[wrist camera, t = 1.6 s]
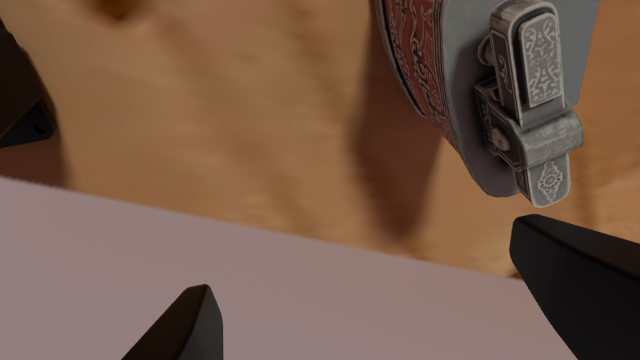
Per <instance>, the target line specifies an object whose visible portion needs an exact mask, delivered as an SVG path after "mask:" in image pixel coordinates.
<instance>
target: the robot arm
mask: <svg viewBox="0 0 640 360" xmlns="http://www.w3.org/2000/svg"><path fill="white" fill-rule="evenodd" d="M42 94H43V91H42V89H41V87H40V85H39V84H38V82H37V80H36V78H35V76H34V74H33V72H32V70H31V69H30V67H29V65H28V63H27V61H26V59H25V57H24V55H23V54H22V52H21V50H20V48H19V46H18V44H17V42H16V40H15V39H14V37H13V35H12V34H11V33H9V32H8V31H6V30H5V28H4V27H3V25H2V23H1V21H0V148H4V147H9V146H14V145H20V144H25V143H30V142H35V141H40V140H46V139H48V138H50V137H51V136H52V135H53V134H54V133H55V131H56V128H57V126H56V123H55V121H54V119H53V117H52V116H51V114H50V112H49V110H48V108H47V106H46V104H45V103H44V101H43V99H42V97H41V96H42ZM37 124H42V125H44V126H45V127H46V128H47V130H42V129H40V128H39V127H38V125H37ZM509 252H510V257H511V260H512V262H513V264H514V265H515V267H516V269H517V270H518V272H519V274H520V275H521V277H522V279H523V280H524V282H525V284H526V285H527V287H528V289H529V290H530V292H531V293H532V295H533V297H534V298H535V300H536V302H537V303H538V305H539V307H540V308H541V310H542V311H543V313H544V315H545V316H546V318H547V319H548V321H549V322H550V324H551V325H552V326H553V328H554V329H555V331H556V332H557V333H558V335H559V336H560V337H561V338H562V340H563V341H564V342H565V344H566V345H567V346H568V348H569V349H570V350H571V351H572V353H573V354H574V355H575V356H576V358H577V359H578V360H640V244H639V243H635V242H632V241H629V240H625V239H622V238H618V237H615V236H611V235H608V234H604V233H601V232H598V231H594V230H591V229H587V228H584V227H580V226H577V225H573V224H570V223H567V222H563V221H560V220H556V219H553V218H549V217H546V216H542V215H539V214H530V215H526V216H521V217H517V218H516V219H515V220H514V222H513V227H512V233H511V240H510V247H509ZM121 360H223V321H222V316H221V312H220V309H219V307H218V305H217V302H216V300H215V297H214V295H213V292H212V290H211V288H210V286H209V285H206V284H202V285H197V286H193V287H189V288H187V289H186V290H184V291H183V292H182V293H181V295H180V296H179V297H178V298H177V299H176V300H175V301H174V302H173V303H172V304H171V305H170V307H169V308H168V309H167V310H166V311H165V312H164V313H163V314H162V315H161V316H160V318H159V319H158V320H157V321H156V322H155V323H154V324H153V325H152V326H151V327H150V329H149V330H148V331H147V332H146V333H145V334H144V335H143V336H142V337H141V339H140V340H139V341H138V342H137V343H136V344H135V345H134V346H133V347H132V348H131V349H130V351H129V352H128V353H127V354H126V355H125V356H124V357H123V358H122V359H121Z"/></svg>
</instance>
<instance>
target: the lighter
mask: <svg viewBox="0 0 640 360" xmlns="http://www.w3.org/2000/svg"><path fill="white" fill-rule="evenodd" d="M375 8H376V16H377V20H378V24H379V28H380V32H381V37H382V41H383V45H384V49H385V52H386V55H387V57H388V59H389V62H390V64H391V67H392V69H393V72H394V74H395V77H396V79H397V81H398V83H399V85H400V86H401V88H402V90H403V92H404V93H405V95H406V97H407V99H408V100H409V102H410V104H411V105H412V106H413V108H414V109H415V110H416V111H417V112H418V113H419V114H420V115H421V116H422V117H424V118H427V119H429V120H430V121H431V122H432V123H433V124H434V125H435V127H436V128H437V129H438V130H439V131H440V132H441V134H442V135H443V136H444V137H445V138H446V139H447V141H448V142H449V143H450V144H451V145H452V146H453V148H454V149H455V150H456V151H457V152H458V153H459V155H460V157H461V158H462V160H463V162H464V164H465V166H466V168H467V169H468V171H469V173H470V175H471V177H472V178H473V179H474V181H475V182H476V183H477V184H478V185H479V187H480V188H481V189H482V190H483V191H484V192H485V193H486V194H487V195H490V196H494V197H509V196H512V195H516V194H519V193H522V194H523V195H524V196H525V197H526V198H527V199H528V200H529V201H530V202H531V203H532V204H533V205H534V206H535V207H537V208H543V207H547V206H550V205H552V204H555V203H557V202H559V201H561V200H563V199H564V198H565V197H566V196H567V195H568V193H569V191H570V170H569V157H568V152H570V151H572V150H575V149H577V148H579V147H581V146H582V144H583V142H584V141H583V127H582V124H581V121H580V119H579V117H578V115H577V114H576V113H575V111H574V110H573V109H572V107H571V105H570V103H569V101H568V99H567V98H566V97H565V95H564V87H563V73H562V59H561V46H560V32H559V18H558V13H557V9H556V8H555V7H554V5H553V4H551V3H548V2H545V1H542V0H375Z"/></svg>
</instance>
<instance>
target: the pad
mask: <svg viewBox="0 0 640 360" xmlns="http://www.w3.org/2000/svg"><path fill="white" fill-rule="evenodd" d="M542 1H545V2H548V3H551V4H553V5H554V7H555V8H556V9H557V13H558V18H559V32H560V46H561V59H562V73H563V87H564V95H565V97H566V98H567V99H568V101H569V103H570V105H571V106H574V105H577V103H578V98H579V93H580V89H581V84H582V79H583V75H584V70H585V65H586V60H587V56H588V51H589V46H590V42H591V37H592V32H593V28H594V23H595V18H596V14H597V9H598V4H599V0H542Z"/></svg>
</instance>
